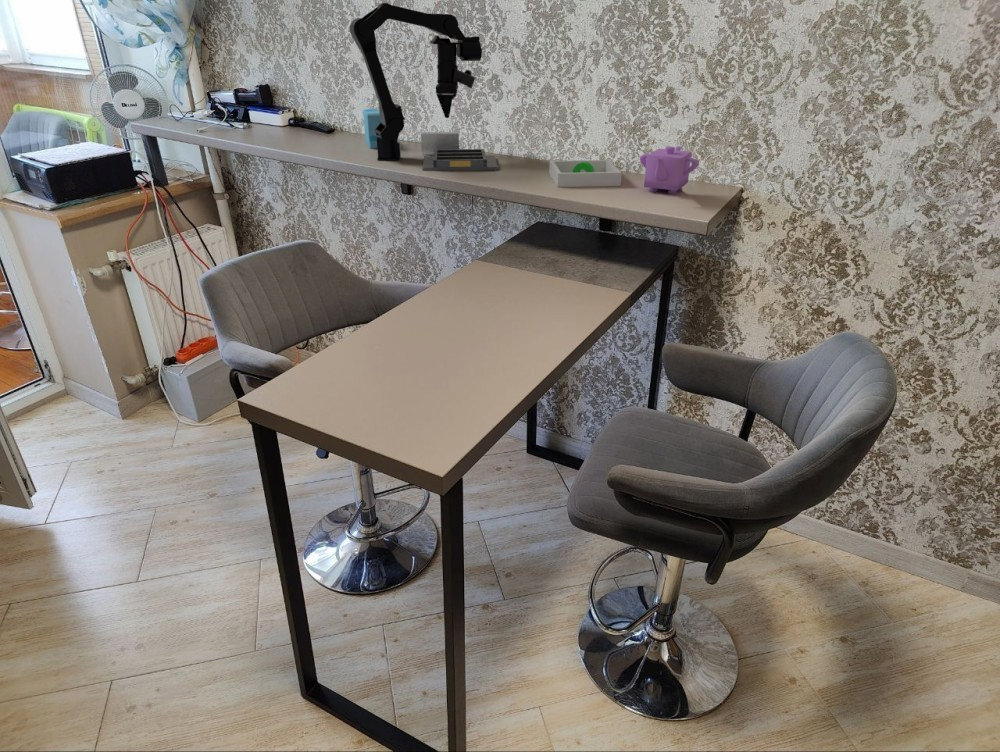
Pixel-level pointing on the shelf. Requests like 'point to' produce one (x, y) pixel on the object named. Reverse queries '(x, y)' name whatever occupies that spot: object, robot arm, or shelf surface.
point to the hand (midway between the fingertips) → (447, 115)
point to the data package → (371, 126)
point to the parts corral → (585, 174)
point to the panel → (439, 141)
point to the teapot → (667, 169)
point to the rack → (460, 160)
